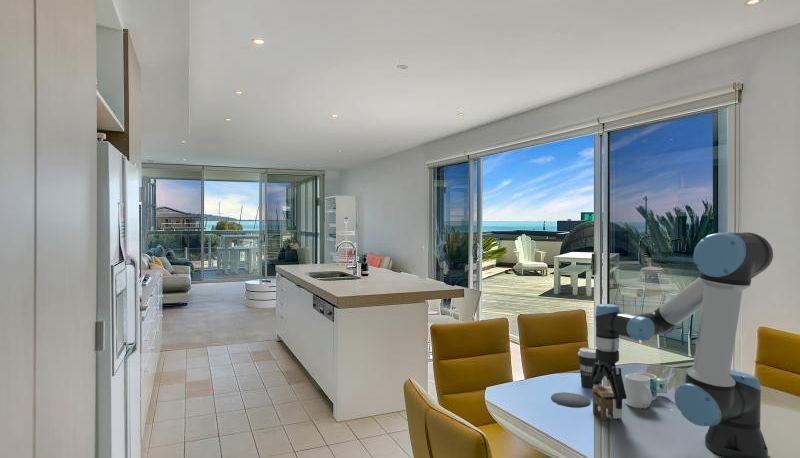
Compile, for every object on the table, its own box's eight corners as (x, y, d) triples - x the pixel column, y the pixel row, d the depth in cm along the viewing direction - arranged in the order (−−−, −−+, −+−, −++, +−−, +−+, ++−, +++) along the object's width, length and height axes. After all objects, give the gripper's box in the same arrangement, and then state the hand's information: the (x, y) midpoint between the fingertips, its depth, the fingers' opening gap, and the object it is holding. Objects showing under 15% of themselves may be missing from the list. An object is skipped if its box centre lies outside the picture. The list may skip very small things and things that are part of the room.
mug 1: (661, 412, 168) (661, 383, 168) (639, 413, 167) (639, 384, 167) (641, 400, 180) (641, 373, 180) (620, 401, 179) (620, 373, 179)
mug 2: (629, 393, 188) (629, 372, 188) (657, 392, 189) (657, 371, 189) (642, 400, 179) (642, 378, 179) (671, 399, 181) (671, 377, 181)
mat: (597, 406, 173) (597, 405, 173) (560, 407, 172) (560, 406, 172) (579, 393, 187) (579, 392, 187) (545, 394, 186) (545, 392, 186)
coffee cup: (572, 384, 198) (572, 348, 198) (589, 381, 202) (589, 346, 202) (590, 391, 189) (590, 354, 189) (607, 388, 193) (607, 351, 193)
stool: (622, 420, 161) (622, 393, 161) (602, 420, 160) (602, 393, 160) (611, 412, 168) (611, 386, 168) (592, 412, 167) (592, 386, 167)
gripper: (638, 358, 152) (638, 424, 152) (599, 340, 177) (599, 396, 177) (615, 358, 152) (615, 425, 152) (580, 340, 176) (580, 397, 176)
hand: (607, 410), depth 164 cm, fingers open, 13 cm apart
